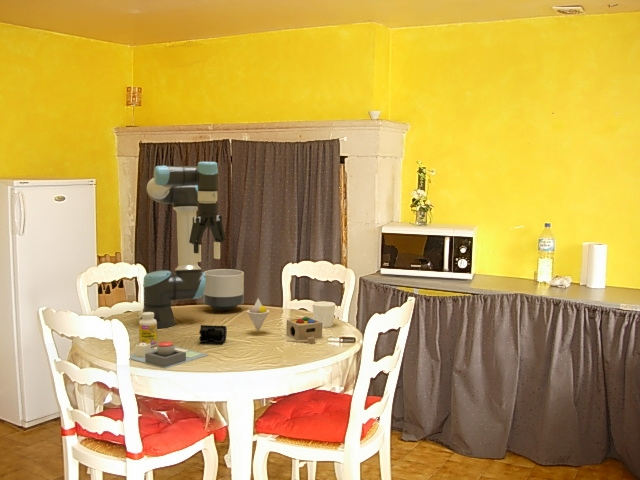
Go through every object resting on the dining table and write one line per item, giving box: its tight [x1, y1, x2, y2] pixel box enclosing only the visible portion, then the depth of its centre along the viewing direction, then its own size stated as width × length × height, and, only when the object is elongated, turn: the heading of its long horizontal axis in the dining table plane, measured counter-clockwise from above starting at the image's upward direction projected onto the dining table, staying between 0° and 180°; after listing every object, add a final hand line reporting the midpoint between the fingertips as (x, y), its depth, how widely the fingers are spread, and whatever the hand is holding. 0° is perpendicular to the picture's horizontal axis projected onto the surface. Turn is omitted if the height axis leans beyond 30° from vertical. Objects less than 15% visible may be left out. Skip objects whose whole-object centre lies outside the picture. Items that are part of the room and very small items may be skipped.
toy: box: [246, 297, 270, 333], centre depth 292 cm, size 9×9×15 cm
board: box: [129, 345, 209, 369], centre depth 256 cm, size 22×21×1 cm
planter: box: [202, 268, 245, 311], centre depth 337 cm, size 19×19×18 cm
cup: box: [312, 301, 336, 329], centre depth 307 cm, size 10×10×10 cm
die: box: [134, 342, 152, 357], centre depth 255 cm, size 4×4×4 cm
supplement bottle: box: [138, 312, 158, 348], centre depth 270 cm, size 7×7×13 cm
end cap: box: [198, 324, 228, 346], centre depth 277 cm, size 10×7×7 cm
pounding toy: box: [285, 316, 323, 345], centre depth 284 cm, size 18×17×8 cm
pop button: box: [156, 340, 175, 357], centre depth 248 cm, size 6×6×4 cm
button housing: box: [145, 350, 186, 368], centre depth 249 cm, size 10×10×3 cm
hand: (207, 260), depth 269 cm, fingers open, 10 cm apart
